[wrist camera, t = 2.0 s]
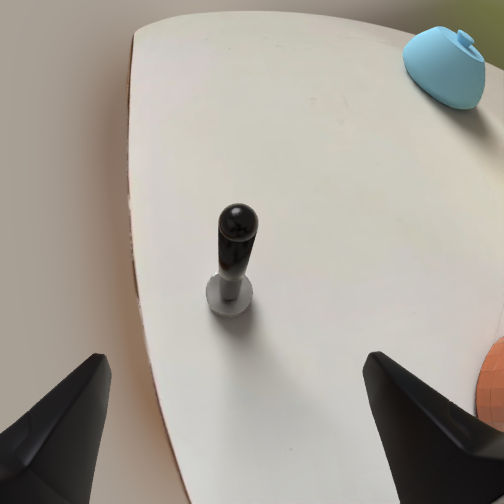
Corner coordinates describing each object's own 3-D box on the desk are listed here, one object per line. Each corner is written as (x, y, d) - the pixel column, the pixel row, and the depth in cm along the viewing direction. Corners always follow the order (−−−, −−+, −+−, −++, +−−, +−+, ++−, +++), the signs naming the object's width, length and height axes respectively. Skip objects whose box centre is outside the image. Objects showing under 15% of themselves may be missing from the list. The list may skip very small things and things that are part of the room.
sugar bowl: (402, 86, 34) (435, 27, 24) (394, 45, 40) (417, -2, 29) (478, 130, 34) (517, 85, 24) (461, 81, 40) (488, 41, 29)
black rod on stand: (256, 310, 22) (301, 245, 10) (213, 322, 21) (204, 272, 9) (243, 270, 23) (269, 166, 11) (201, 281, 22) (182, 185, 10)
